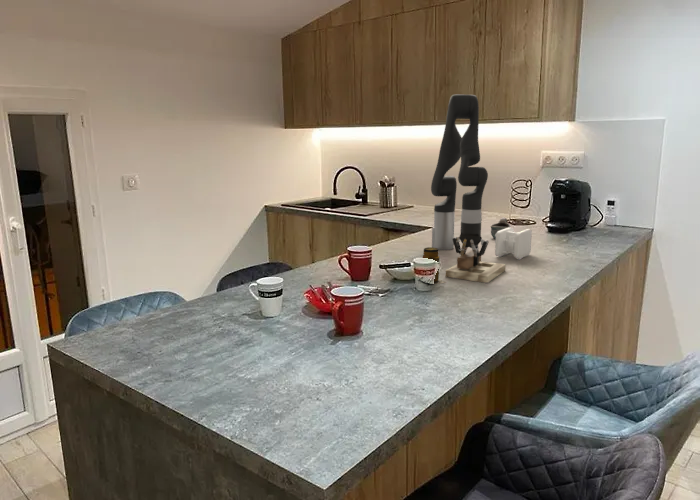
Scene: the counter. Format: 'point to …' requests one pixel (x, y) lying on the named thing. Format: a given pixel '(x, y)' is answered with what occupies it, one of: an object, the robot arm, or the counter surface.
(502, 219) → the mug
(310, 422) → the counter surface
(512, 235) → the cable organizer
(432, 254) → the condiment
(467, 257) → the walnut bar
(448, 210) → the robot arm
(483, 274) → the keyhole board
